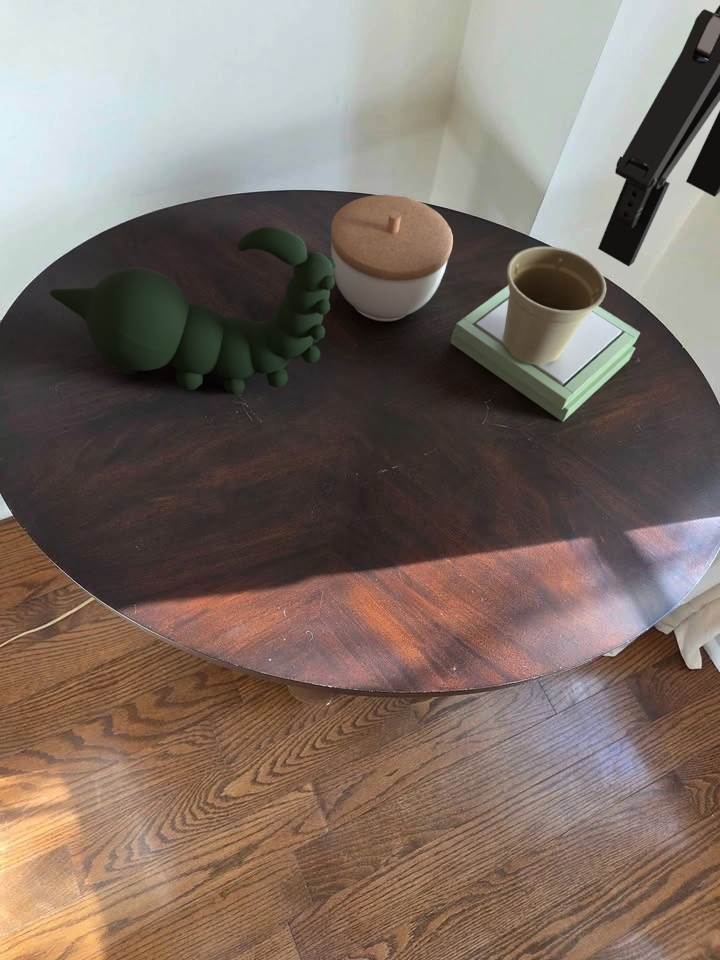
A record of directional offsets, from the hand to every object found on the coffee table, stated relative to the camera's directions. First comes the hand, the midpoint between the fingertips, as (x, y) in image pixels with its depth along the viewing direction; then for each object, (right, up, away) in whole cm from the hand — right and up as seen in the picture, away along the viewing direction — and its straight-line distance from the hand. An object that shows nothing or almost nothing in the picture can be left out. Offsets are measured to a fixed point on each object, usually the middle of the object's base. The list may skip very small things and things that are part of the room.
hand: (661, 220), depth 61 cm
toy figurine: (-40, -9, +18) cm, 45 cm away
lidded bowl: (-21, 0, +26) cm, 34 cm away
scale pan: (-4, -5, +22) cm, 23 cm away
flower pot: (-6, -6, +19) cm, 21 cm away
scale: (-4, -6, +24) cm, 25 cm away
